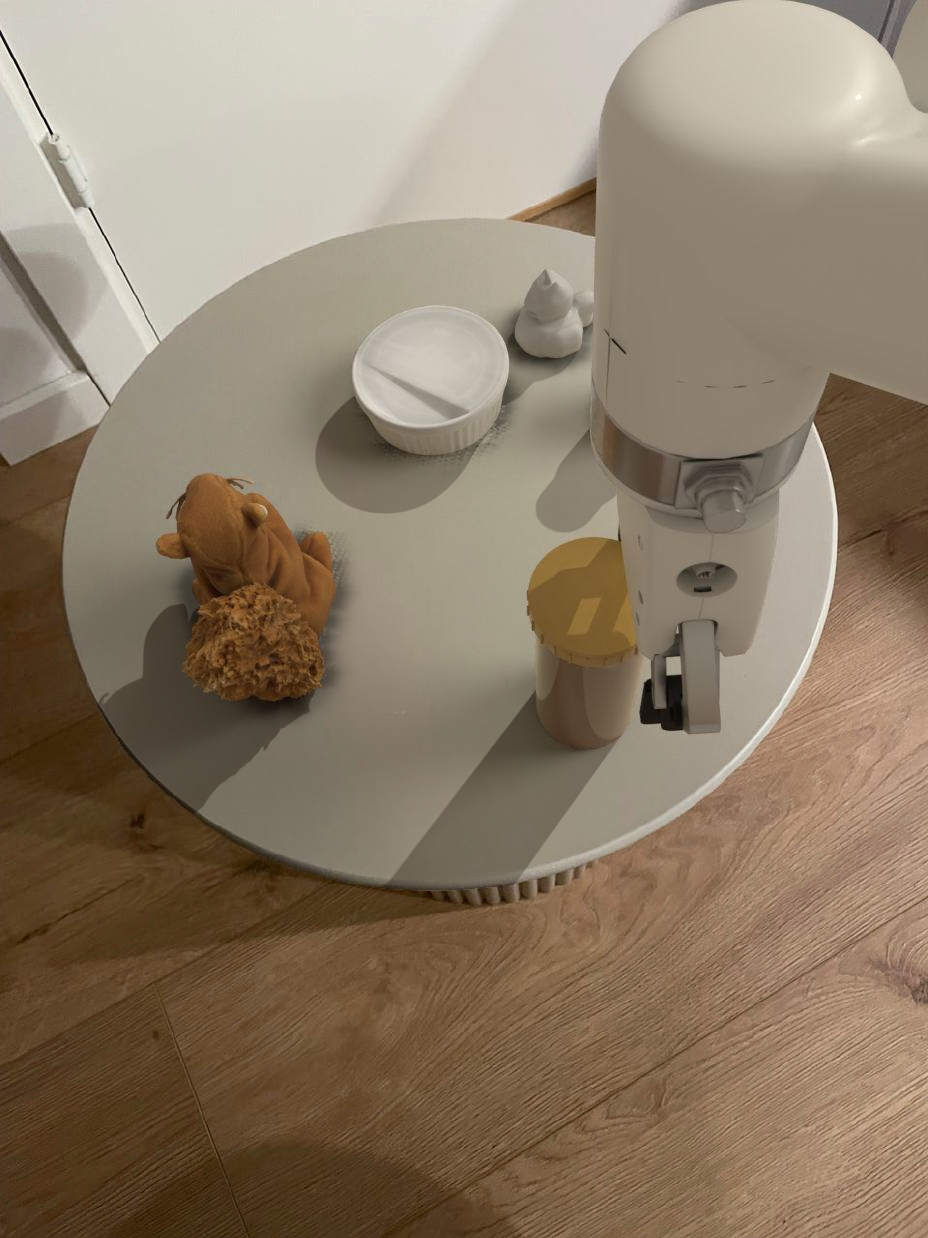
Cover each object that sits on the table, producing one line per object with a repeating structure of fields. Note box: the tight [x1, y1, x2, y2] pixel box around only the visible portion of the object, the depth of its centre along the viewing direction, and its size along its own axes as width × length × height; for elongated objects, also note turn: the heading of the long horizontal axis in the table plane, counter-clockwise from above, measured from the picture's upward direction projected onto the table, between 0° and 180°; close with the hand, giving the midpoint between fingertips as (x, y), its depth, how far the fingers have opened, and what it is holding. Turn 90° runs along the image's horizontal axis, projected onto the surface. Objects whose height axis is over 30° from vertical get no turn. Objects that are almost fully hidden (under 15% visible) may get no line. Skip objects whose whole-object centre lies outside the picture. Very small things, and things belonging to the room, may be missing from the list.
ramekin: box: [350, 304, 510, 456], centre depth 72 cm, size 11×11×5 cm
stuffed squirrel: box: [155, 472, 337, 702], centre depth 61 cm, size 10×14×13 cm
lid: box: [526, 536, 640, 668], centre depth 50 cm, size 7×7×2 cm
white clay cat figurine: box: [514, 267, 594, 359], centre depth 73 cm, size 5×7×8 cm
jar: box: [534, 633, 646, 751], centre depth 56 cm, size 6×6×15 cm
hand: (660, 625), depth 49 cm, fingers open, 9 cm apart
